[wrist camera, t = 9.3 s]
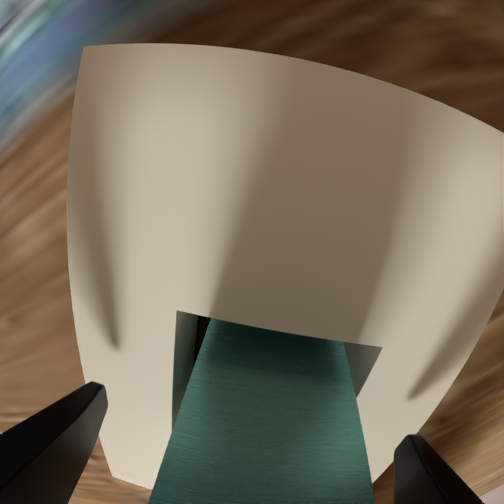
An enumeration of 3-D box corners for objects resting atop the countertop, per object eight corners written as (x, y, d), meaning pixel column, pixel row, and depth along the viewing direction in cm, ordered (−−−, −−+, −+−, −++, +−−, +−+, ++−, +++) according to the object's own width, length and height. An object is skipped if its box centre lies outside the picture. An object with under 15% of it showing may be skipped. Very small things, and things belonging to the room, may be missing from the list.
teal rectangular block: (333, 302, 12) (385, 599, 2) (304, 380, 13) (308, 614, 4) (224, 281, 12) (123, 583, 2) (211, 364, 13) (147, 596, 4)
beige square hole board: (480, 144, 9) (544, 157, 6) (335, 466, 16) (339, 514, 12) (140, 65, 9) (83, 46, 6) (132, 430, 16) (112, 476, 12)
